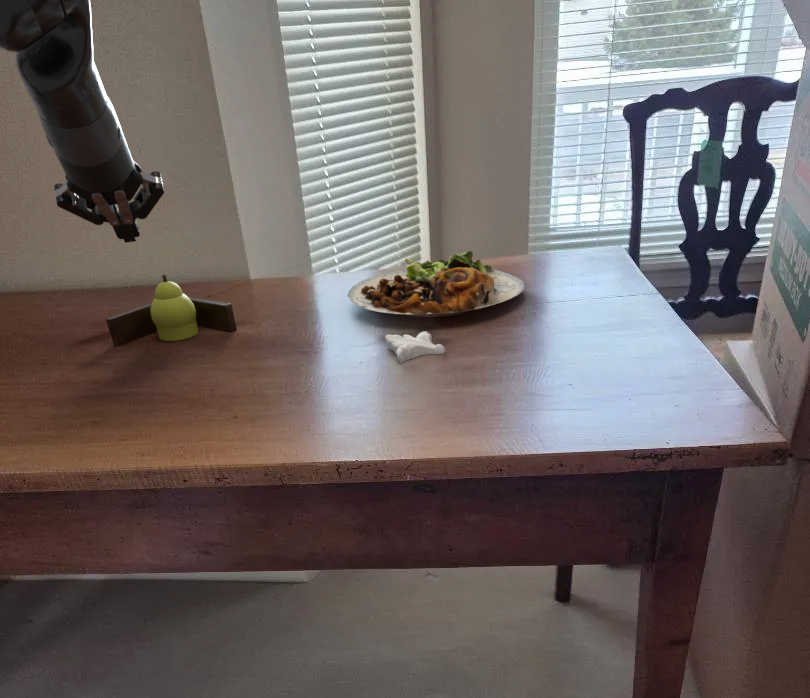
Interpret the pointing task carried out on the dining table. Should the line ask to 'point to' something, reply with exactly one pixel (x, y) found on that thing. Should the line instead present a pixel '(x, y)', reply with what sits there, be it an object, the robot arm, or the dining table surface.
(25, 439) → the dining table surface
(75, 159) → the robot arm
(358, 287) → the plate of food
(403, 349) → the acanthus leaf ornament
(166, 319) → the pear
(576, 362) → the dining table surface
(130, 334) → the corner fence
